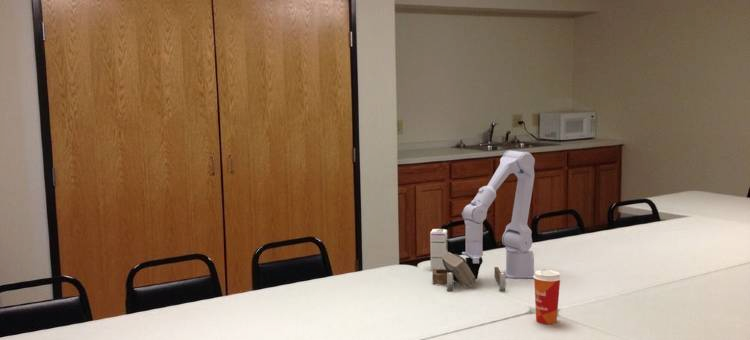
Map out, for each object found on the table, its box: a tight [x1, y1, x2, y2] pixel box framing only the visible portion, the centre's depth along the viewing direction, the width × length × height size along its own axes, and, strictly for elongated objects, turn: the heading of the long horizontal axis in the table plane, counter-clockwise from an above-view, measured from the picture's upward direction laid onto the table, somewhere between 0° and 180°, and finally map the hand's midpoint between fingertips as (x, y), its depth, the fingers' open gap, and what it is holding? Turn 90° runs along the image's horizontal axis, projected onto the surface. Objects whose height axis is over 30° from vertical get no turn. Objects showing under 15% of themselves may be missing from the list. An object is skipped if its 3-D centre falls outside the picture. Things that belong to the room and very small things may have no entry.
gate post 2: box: [498, 271, 507, 293], centre depth 221 cm, size 2×2×6 cm
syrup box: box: [429, 228, 448, 272], centre depth 248 cm, size 6×6×14 cm
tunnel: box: [432, 266, 501, 287], centre depth 232 cm, size 23×12×4 cm, turn 87°
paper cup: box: [532, 269, 562, 325], centre depth 191 cm, size 8×8×14 cm
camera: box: [442, 251, 477, 289], centre depth 227 cm, size 11×6×10 cm
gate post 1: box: [446, 272, 454, 292], centre depth 222 cm, size 2×2×6 cm
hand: (473, 278), depth 230 cm, fingers closed
